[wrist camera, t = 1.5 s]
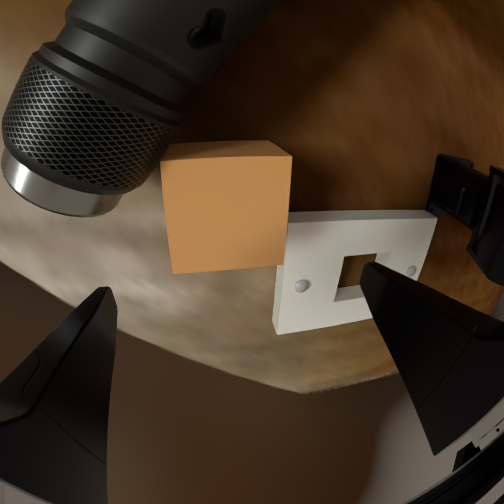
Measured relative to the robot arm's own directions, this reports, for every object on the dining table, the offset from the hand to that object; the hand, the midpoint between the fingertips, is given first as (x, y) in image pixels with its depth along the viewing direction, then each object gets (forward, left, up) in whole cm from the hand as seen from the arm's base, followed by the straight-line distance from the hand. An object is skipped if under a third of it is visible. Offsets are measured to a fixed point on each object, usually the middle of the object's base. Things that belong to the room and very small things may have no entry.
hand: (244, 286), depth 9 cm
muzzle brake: (+1, -14, -13) cm, 19 cm away
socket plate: (-13, +9, -13) cm, 21 cm away
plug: (0, 0, -13) cm, 13 cm away
